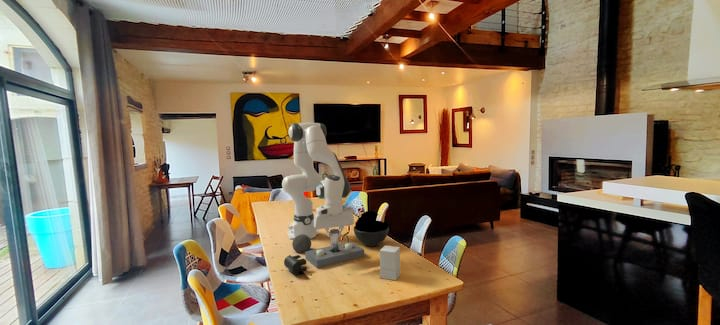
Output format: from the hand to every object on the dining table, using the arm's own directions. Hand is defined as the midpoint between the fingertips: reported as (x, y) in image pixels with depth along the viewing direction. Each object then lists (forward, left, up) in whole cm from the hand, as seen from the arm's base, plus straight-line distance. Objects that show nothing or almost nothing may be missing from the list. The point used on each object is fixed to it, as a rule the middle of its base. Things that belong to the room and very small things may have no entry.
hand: (334, 235), depth 164 cm
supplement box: (+30, +12, -13) cm, 35 cm away
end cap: (+3, -22, -13) cm, 26 cm away
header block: (0, 0, -13) cm, 13 cm away
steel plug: (0, 0, -8) cm, 8 cm away
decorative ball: (-19, -10, -13) cm, 25 cm away
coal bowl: (-9, +28, -13) cm, 32 cm away
